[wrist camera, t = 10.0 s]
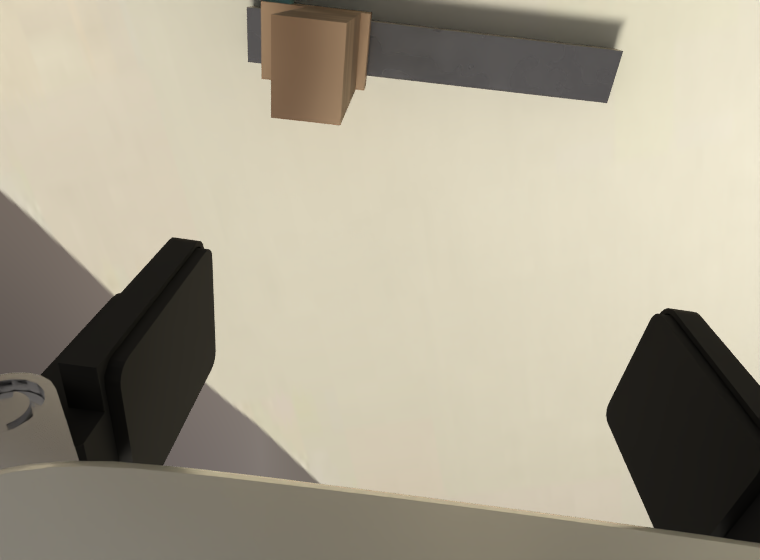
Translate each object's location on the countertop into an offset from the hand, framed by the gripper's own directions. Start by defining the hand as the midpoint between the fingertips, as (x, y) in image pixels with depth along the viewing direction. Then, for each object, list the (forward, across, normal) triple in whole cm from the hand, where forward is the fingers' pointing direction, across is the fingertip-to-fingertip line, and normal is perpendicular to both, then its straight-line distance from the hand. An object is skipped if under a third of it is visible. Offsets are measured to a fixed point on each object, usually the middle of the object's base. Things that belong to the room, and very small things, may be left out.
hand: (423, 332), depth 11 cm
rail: (+26, -1, -2) cm, 27 cm away
